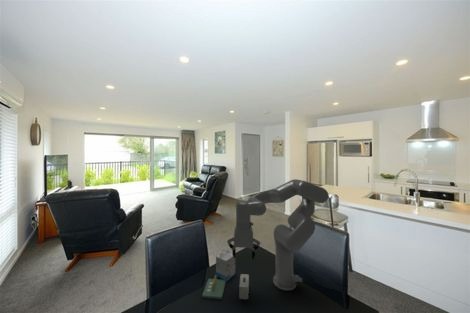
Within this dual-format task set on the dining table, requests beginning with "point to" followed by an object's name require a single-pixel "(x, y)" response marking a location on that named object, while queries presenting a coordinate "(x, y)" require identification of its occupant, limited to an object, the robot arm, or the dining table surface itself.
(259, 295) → the dining table surface
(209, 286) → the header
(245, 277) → the white switch box
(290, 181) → the robot arm
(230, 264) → the ink box
